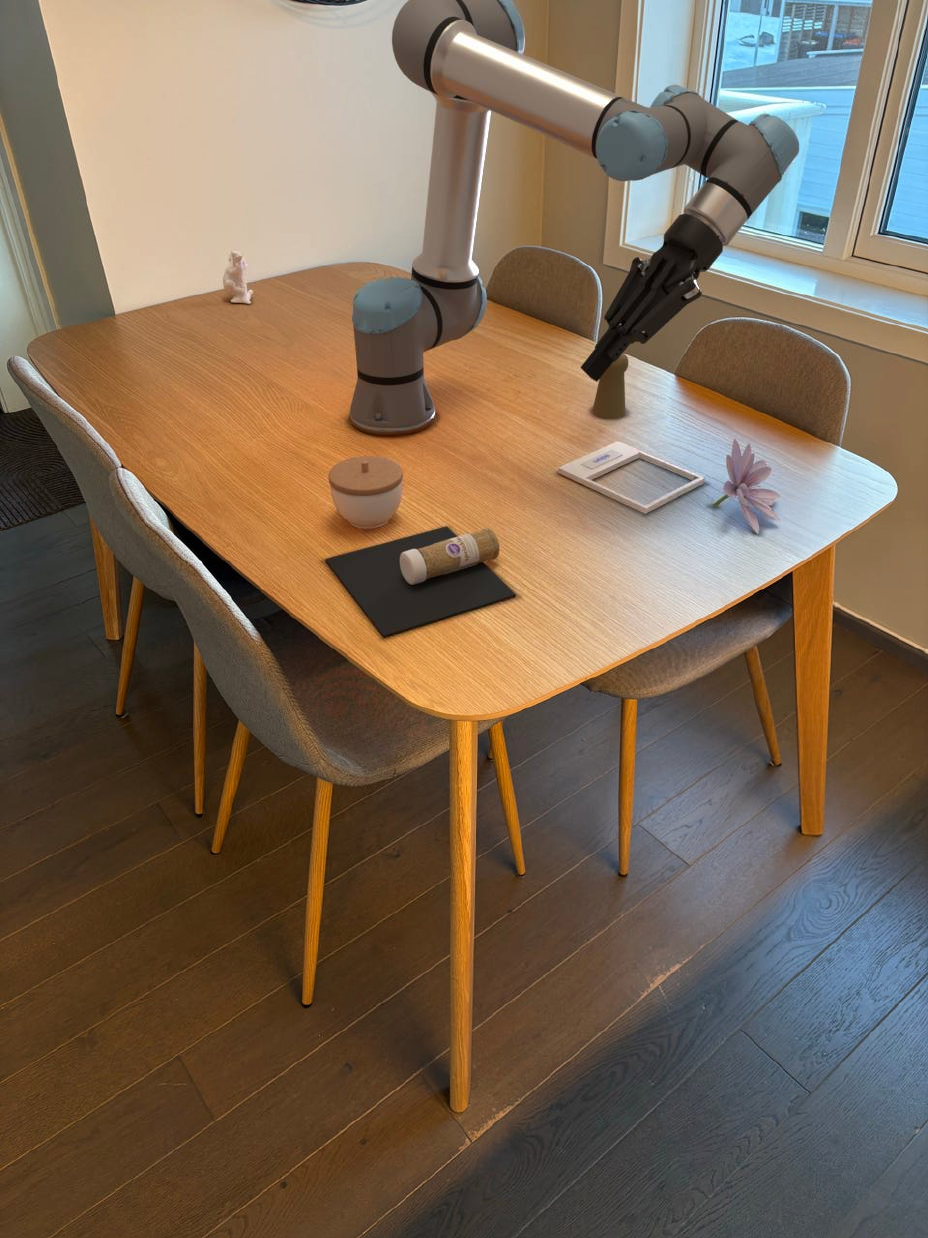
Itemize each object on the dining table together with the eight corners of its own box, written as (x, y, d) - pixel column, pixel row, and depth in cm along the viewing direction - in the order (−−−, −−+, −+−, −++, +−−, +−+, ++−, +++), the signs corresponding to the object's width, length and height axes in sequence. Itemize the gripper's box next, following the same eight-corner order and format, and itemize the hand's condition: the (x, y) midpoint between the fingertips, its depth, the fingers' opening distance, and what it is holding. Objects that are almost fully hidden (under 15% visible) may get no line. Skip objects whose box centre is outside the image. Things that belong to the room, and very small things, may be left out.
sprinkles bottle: (503, 543, 126) (416, 570, 120) (496, 565, 130) (411, 592, 124) (487, 519, 128) (400, 545, 122) (480, 541, 132) (396, 567, 126)
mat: (325, 561, 130) (325, 558, 130) (446, 528, 137) (446, 526, 137) (383, 638, 116) (383, 635, 115) (516, 596, 123) (516, 594, 122)
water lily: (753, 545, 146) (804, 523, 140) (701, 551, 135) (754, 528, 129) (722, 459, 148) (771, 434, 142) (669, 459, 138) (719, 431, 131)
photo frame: (617, 439, 158) (705, 476, 147) (617, 445, 159) (704, 482, 148) (558, 466, 150) (646, 507, 139) (557, 472, 151) (645, 513, 140)
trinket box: (333, 502, 143) (328, 446, 138) (403, 499, 144) (401, 443, 138) (331, 538, 135) (325, 480, 129) (406, 535, 135) (403, 477, 130)
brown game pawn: (624, 420, 167) (630, 360, 161) (590, 417, 168) (595, 358, 162) (626, 406, 172) (632, 348, 166) (593, 404, 173) (598, 346, 167)
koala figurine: (259, 304, 221) (252, 251, 214) (231, 308, 219) (223, 254, 212) (250, 294, 227) (243, 242, 220) (223, 297, 225) (215, 245, 218)
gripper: (748, 260, 121) (630, 406, 125) (685, 237, 130) (577, 373, 134) (723, 222, 116) (601, 375, 120) (659, 200, 125) (547, 343, 129)
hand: (588, 374), depth 127 cm, fingers closed
